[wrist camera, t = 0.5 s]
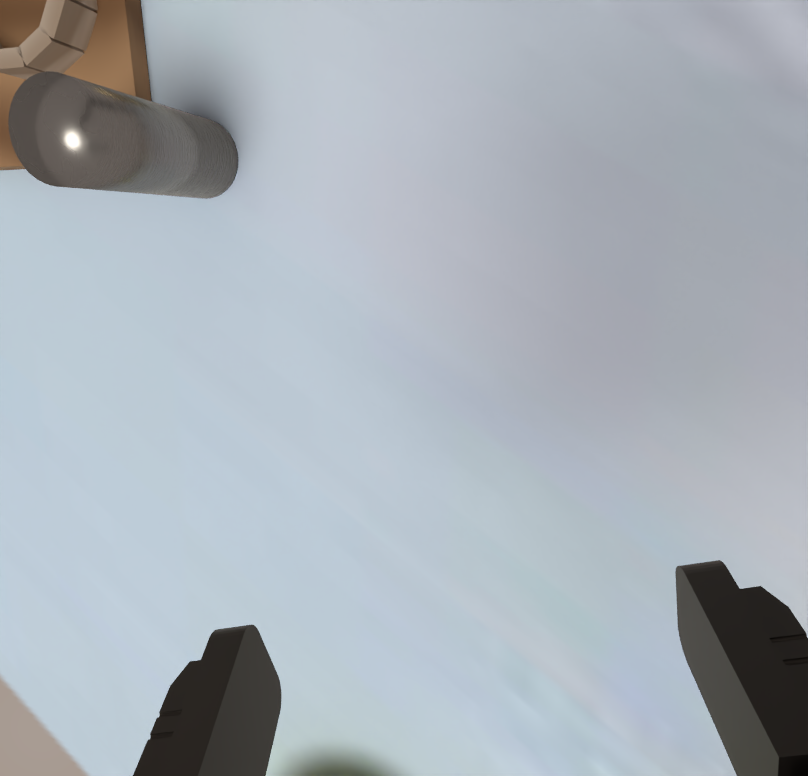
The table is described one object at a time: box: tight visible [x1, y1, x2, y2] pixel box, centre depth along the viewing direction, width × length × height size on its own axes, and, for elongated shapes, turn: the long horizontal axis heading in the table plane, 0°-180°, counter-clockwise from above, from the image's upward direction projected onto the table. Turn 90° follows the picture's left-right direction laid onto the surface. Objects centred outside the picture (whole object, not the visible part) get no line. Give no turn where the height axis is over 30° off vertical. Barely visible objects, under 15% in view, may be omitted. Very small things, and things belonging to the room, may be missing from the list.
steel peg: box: [8, 71, 238, 199], centre depth 32 cm, size 4×4×12 cm
